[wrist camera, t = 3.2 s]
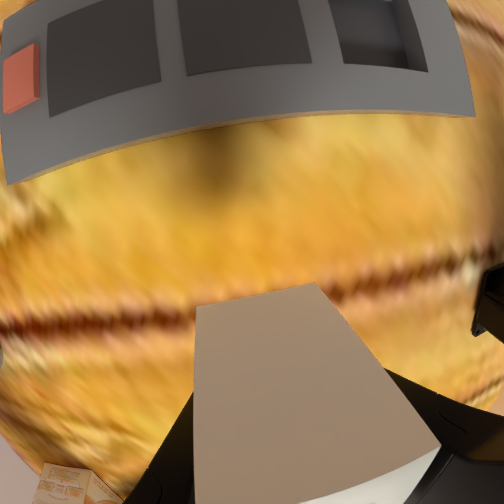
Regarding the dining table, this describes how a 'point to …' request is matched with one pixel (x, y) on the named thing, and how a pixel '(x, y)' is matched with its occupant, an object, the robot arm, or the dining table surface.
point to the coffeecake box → (72, 487)
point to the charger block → (298, 408)
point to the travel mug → (0, 357)
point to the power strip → (213, 69)
